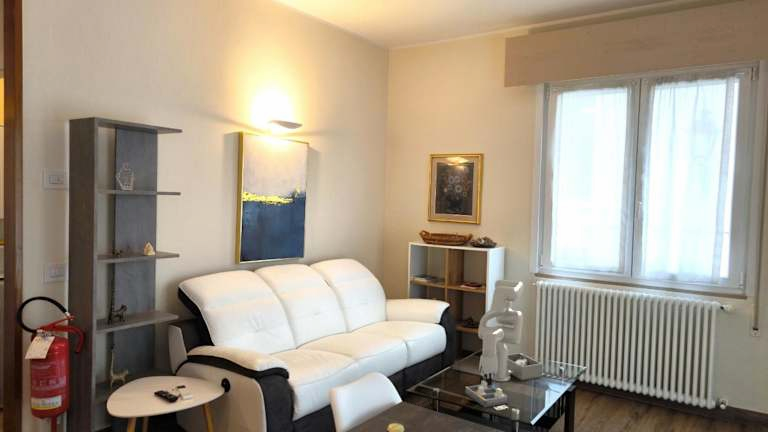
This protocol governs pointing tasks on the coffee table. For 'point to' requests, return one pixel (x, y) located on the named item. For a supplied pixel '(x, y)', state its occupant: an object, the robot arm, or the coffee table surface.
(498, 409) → the label card
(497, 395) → the tab
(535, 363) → the grey open bin
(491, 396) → the grey shallow tray
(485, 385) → the tab
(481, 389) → the tab
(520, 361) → the camera
